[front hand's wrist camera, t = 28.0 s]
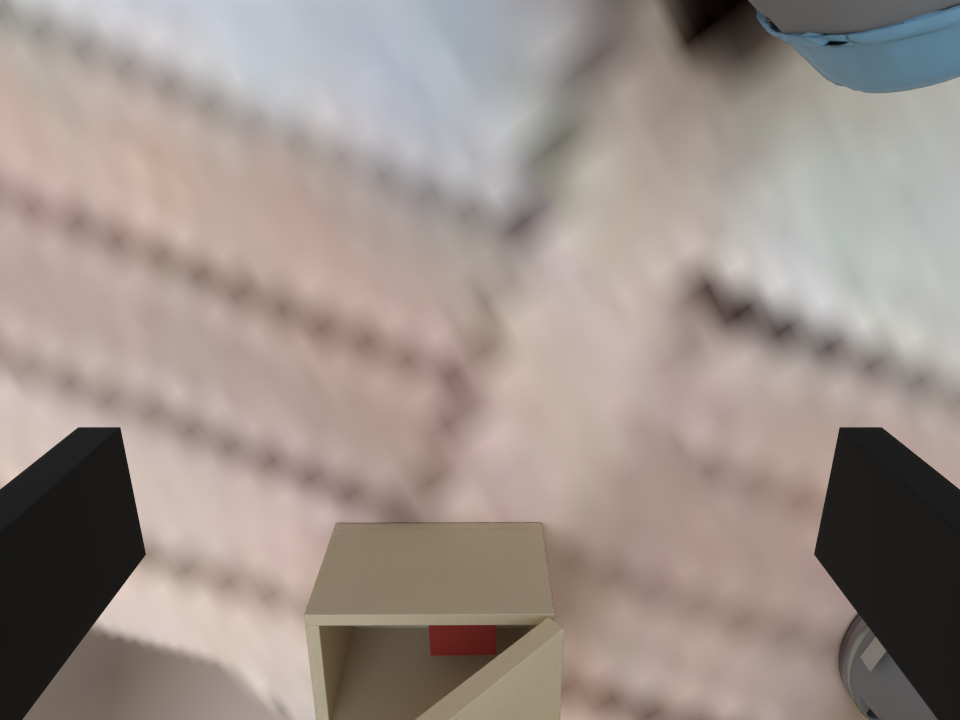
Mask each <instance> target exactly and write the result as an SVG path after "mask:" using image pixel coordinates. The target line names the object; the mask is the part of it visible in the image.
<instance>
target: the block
mask: <svg viewBox="0 0 960 720" xmlns="http://www.w3.org/2000/svg"><path fill="white" fill-rule="evenodd" d="M429 637H430V654H431V656H457V655H496V625H429Z"/></svg>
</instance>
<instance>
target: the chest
mask: <svg viewBox="0 0 960 720" xmlns="http://www.w3.org/2000/svg"><path fill="white" fill-rule="evenodd" d="M304 618H305V625H306V635H307V644H308V653H309V661H310V670H311V679H312V687H313V696H314V705H315V714H316V720H415V719H416V718H417V717H419V716H420V715H421V714H423V713H424V712H425V711H427V710H428V709H429V708H431V707H432V706H433V705H434V704H436V703H437V702H438V701H440V700H441V699H442V698H444V697H445V696H446V695H447V694H449V693H450V692H451V691H453V690H454V689H455V688H457V687H458V686H459V685H460V684H462V683H463V682H464V681H466V680H467V679H468V678H470V677H471V676H472V675H474V674H475V673H476V672H477V671H479V670H480V669H481V668H483V667H484V666H485V665H487V664H488V663H489V662H490V661H492V660H493V659H494V658H496V657H497V656H498V655H500V654H501V653H502V652H503V651H505V650H506V649H507V648H509V647H510V646H511V645H513V644H514V643H515V642H516V641H518V640H519V639H520V638H522V637H523V636H524V635H526V634H527V633H528V632H530V631H531V630H532V629H533V628H535V627H536V626H537V625H539V624H540V623H541V622H543V621H544V620H545V619H546V618H550V619H551V620H553V621H555V611H554V605H553V598H552V591H551V584H550V578H549V571H548V564H547V558H546V551H545V544H544V538H543V531H542V524H541V523H336V524H335V527H334V530H333V533H332V536H331V539H330V542H329V545H328V548H327V550H326V553H325V556H324V559H323V562H322V565H321V568H320V571H319V574H318V577H317V579H316V582H315V585H314V588H313V591H312V594H311V597H310V600H309V603H308V606H307V608H306V611H305V614H304ZM429 625H496V655H457V656H431V654H430V637H429Z"/></svg>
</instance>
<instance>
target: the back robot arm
mask: <svg viewBox="0 0 960 720" xmlns="http://www.w3.org/2000/svg"><path fill="white" fill-rule="evenodd" d="M839 667H840V674H841V678H842V681H843V683H844V686H845V688H846V689H847V691H848V693H849V694H850V696H851V698H852V699H853V701H854V702H855V704H856V705H857V707H858V709H859V710H860V711H861V712H862V714H863V715H864V716H865V717H866V718H867V719H868V720H938V719H937V718H936V717H935V715H934V714H933V713H932V711H931V710H930V709H929V707H928V706H927V705H926V703H925V702H924V701H923V699H922V698H921V697H920V695H919V694H918V693H917V691H916V690H915V689H914V687H913V686H912V684H911V683H910V682H909V680H908V679H907V678H906V676H905V675H904V674H903V672H902V671H901V670H900V668H899V667H898V666H897V664H896V663H895V662H894V660H893V659H892V658H891V656H890V655H889V654H888V652H887V651H886V650H885V648H884V647H883V646H882V644H881V643H880V642H879V640H878V639H877V638H876V636H875V635H874V634H873V632H872V631H871V630H870V628H869V627H868V626H867V624H866V623H865V622H864V620H863V619H862V618H861V616H860V615H859V616H858V617H857V618H856V619H855V621H854V622H853V624H852V625H851V627H850V628H849V630H848V632H847V634H846V636H845V638H844V641H843V644H842V647H841V651H840V658H839Z"/></svg>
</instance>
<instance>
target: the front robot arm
mask: <svg viewBox="0 0 960 720" xmlns="http://www.w3.org/2000/svg"><path fill="white" fill-rule="evenodd" d="M748 1H749V2H750V3H751V4H752V5H753V6H754V7H755V8H756V17H757V19H758V21H759V22H760V23H761V25H762V26H763V27H764V28H765V29H766V30H767V31H768V32H769V33H770V34H771V35H773V36H775V37H777V38H779V39H781V40H783V41H784V42H787V43H789V44H790V45H791V46H792V47H793V48H794V49H795V50H796V51H797V52H798V53H799V54H800V55H801V56H802V57H803V58H804V59H805V60H806V61H808V62H809V63H810V64H811V65H812V66H813V67H814V68H815V69H816V70H817V71H818V72H819V73H820V74H821V75H822V76H823V77H824V78H826V79H827V80H829V81H831V82H832V83H834V84H836V85H840V86H845V87H848V88H850V89H853V90H858V91H862V92H866V93H890V92H899V91H907V90H912V89H918V88H922V87H926V86H931V85H934V84H938V83H942V82H945V81H948V80H951V79H954V78H957V77H960V0H748ZM145 555H146V553H145V548H144V543H143V538H142V533H141V528H140V523H139V518H138V513H137V508H136V503H135V498H134V493H133V488H132V483H131V478H130V473H129V469H128V464H127V459H126V454H125V449H124V444H123V439H122V434H121V429H120V427H78V428H77V429H76V430H74V431H73V432H72V433H71V434H69V435H68V436H67V437H66V438H64V439H63V440H62V441H61V442H59V443H58V444H57V445H56V446H54V447H53V448H52V449H51V450H49V451H48V452H47V453H46V454H44V455H43V456H42V457H41V458H39V459H38V460H37V461H36V462H34V463H33V464H32V465H31V466H29V467H28V468H27V469H25V470H24V471H23V472H22V473H20V474H19V475H18V476H17V477H15V478H14V479H13V480H12V481H10V482H9V483H8V484H7V485H5V486H4V487H3V488H2V489H0V720H22V719H23V718H24V717H25V715H26V714H27V713H28V711H29V710H30V709H31V707H32V706H33V705H34V703H35V702H36V700H37V699H38V698H39V697H40V695H41V694H42V693H43V691H44V690H45V689H46V687H47V686H48V684H49V683H50V682H51V680H52V679H53V678H54V676H55V675H56V674H57V672H58V671H59V670H60V668H61V667H62V666H63V664H64V663H65V662H66V660H67V659H68V658H69V656H70V655H71V654H72V652H73V651H74V650H75V648H76V647H77V646H78V644H79V643H80V642H81V640H82V639H83V638H84V636H85V635H86V634H87V632H88V631H89V630H90V628H91V627H92V626H93V624H94V623H95V622H96V620H97V619H98V618H99V616H100V615H101V614H102V612H103V611H104V610H105V608H106V607H107V606H108V604H109V603H110V602H111V600H112V599H113V598H114V596H115V595H116V594H117V592H118V591H119V590H120V588H121V587H122V586H123V584H124V583H125V582H126V580H127V579H128V578H129V576H130V575H131V574H132V572H133V571H134V570H135V568H136V567H137V566H138V564H139V563H140V562H141V560H142V559H143V558H144V556H145ZM814 555H815V556H816V558H817V559H818V560H819V562H820V563H821V564H822V566H823V567H824V568H825V570H826V571H827V572H828V574H829V575H830V576H831V578H832V579H833V580H834V582H835V583H836V584H837V586H838V587H839V588H840V590H841V591H842V592H843V594H844V595H845V596H846V598H847V599H848V600H849V602H850V603H851V604H852V606H853V607H854V608H855V610H856V611H857V612H858V614H859V615H860V616H861V618H862V619H863V620H864V622H865V623H866V624H867V626H868V627H869V628H870V630H871V631H872V632H873V634H874V635H875V636H876V638H877V639H878V640H879V642H880V643H881V644H882V646H883V647H884V648H885V650H886V651H887V652H888V654H889V655H890V656H891V658H892V659H893V660H894V662H895V663H896V664H897V666H898V667H899V668H900V670H901V671H902V672H903V674H904V675H905V676H906V678H907V679H908V680H909V682H910V683H911V684H912V686H913V687H914V689H915V690H916V691H917V693H918V694H919V695H920V697H921V698H922V699H923V701H924V702H925V703H926V705H927V706H928V707H929V709H930V710H931V711H932V713H933V714H934V715H935V717H936V718H937V719H938V720H960V489H958V488H957V487H956V486H955V485H953V484H952V483H951V482H950V481H948V480H947V479H946V478H945V477H943V476H942V475H941V474H940V473H938V472H937V471H936V470H935V469H933V468H932V467H931V466H929V465H928V464H927V463H926V462H924V461H923V460H922V459H921V458H919V457H918V456H917V455H916V454H914V453H913V452H912V451H911V450H909V449H908V448H907V447H906V446H904V445H903V444H902V443H901V442H899V441H898V440H897V439H896V438H894V437H893V436H892V435H891V434H889V433H888V432H887V431H886V430H884V429H883V428H882V427H840V429H839V434H838V439H837V444H836V449H835V454H834V459H833V464H832V469H831V473H830V478H829V483H828V488H827V493H826V498H825V503H824V508H823V513H822V518H821V523H820V528H819V533H818V538H817V543H816V548H815V553H814Z"/></svg>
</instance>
